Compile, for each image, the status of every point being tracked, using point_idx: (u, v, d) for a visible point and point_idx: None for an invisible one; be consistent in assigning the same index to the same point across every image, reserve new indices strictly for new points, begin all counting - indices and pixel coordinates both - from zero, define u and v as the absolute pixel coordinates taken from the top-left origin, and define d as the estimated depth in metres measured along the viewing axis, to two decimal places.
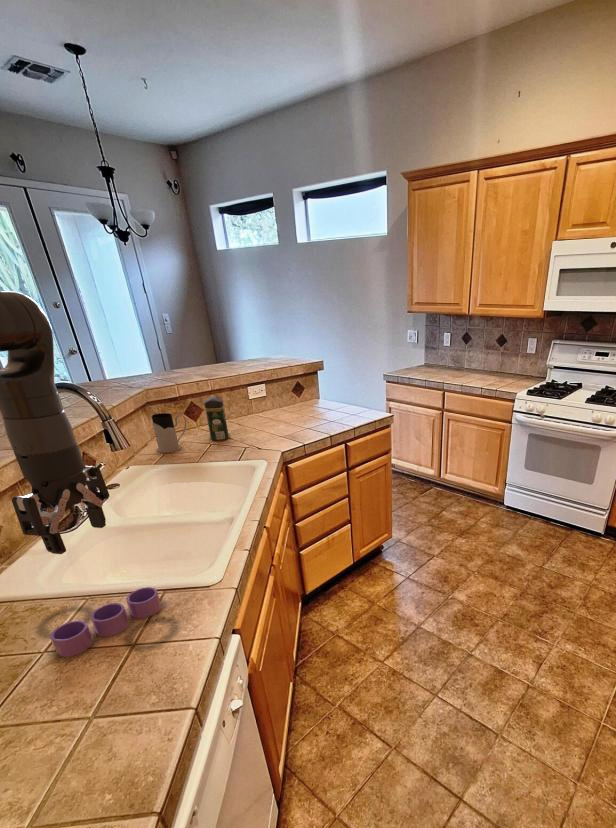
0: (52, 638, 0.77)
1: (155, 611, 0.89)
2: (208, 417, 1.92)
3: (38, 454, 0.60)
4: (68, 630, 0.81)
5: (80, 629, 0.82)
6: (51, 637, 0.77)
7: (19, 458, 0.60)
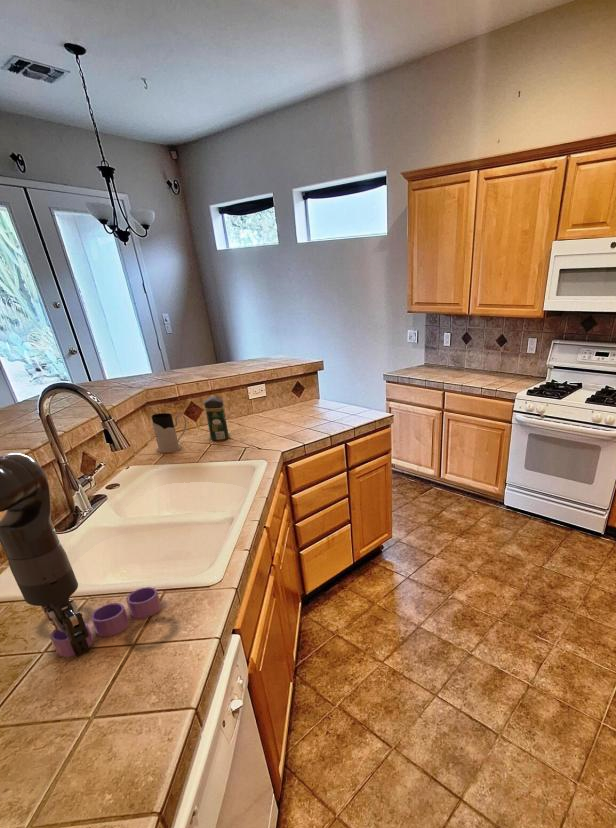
0: (52, 638, 0.77)
1: (155, 611, 0.89)
2: (208, 417, 1.92)
3: (64, 575, 0.73)
4: None
5: None
6: (51, 637, 0.77)
7: (46, 587, 0.71)
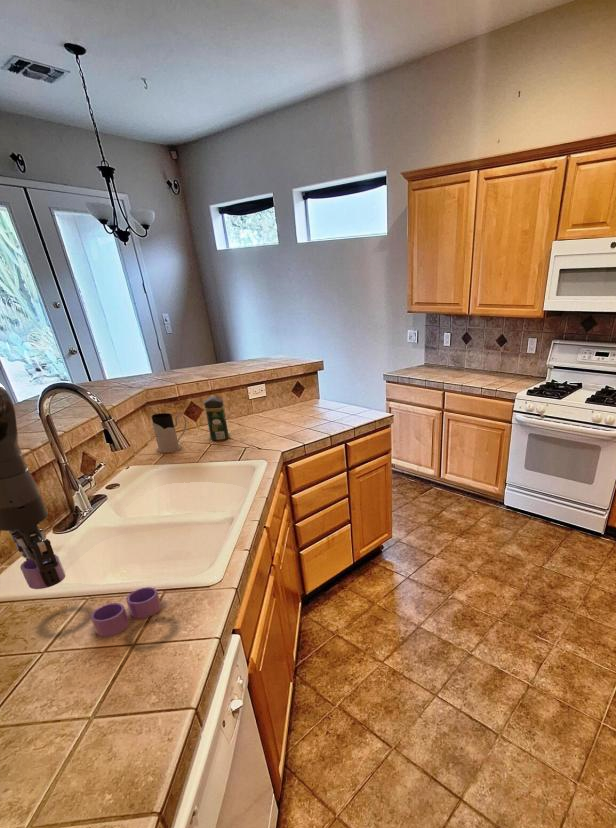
0: (22, 568, 0.78)
1: (155, 611, 0.89)
2: (208, 417, 1.92)
3: (32, 501, 0.73)
4: None
5: None
6: (21, 567, 0.78)
7: (13, 510, 0.71)
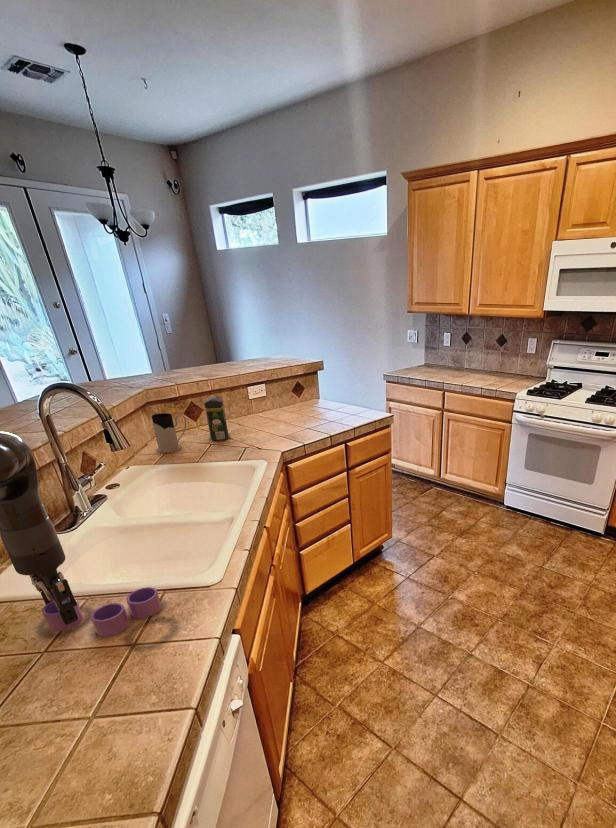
0: (43, 612, 0.83)
1: (155, 611, 0.89)
2: (208, 417, 1.92)
3: (52, 547, 0.78)
4: None
5: None
6: (42, 611, 0.83)
7: (35, 557, 0.76)
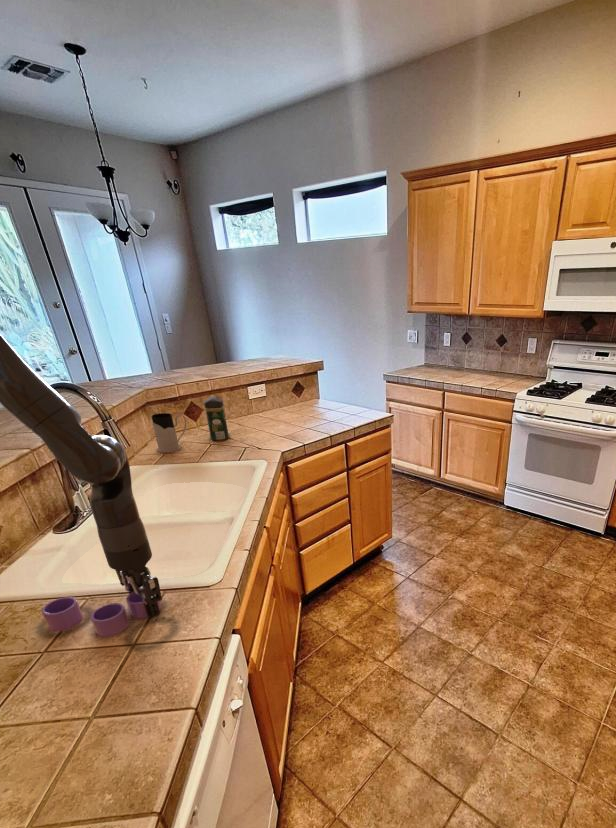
0: (43, 612, 0.83)
1: None
2: (208, 417, 1.92)
3: (143, 543, 0.82)
4: (59, 606, 0.87)
5: (70, 605, 0.87)
6: (42, 611, 0.83)
7: (129, 553, 0.80)
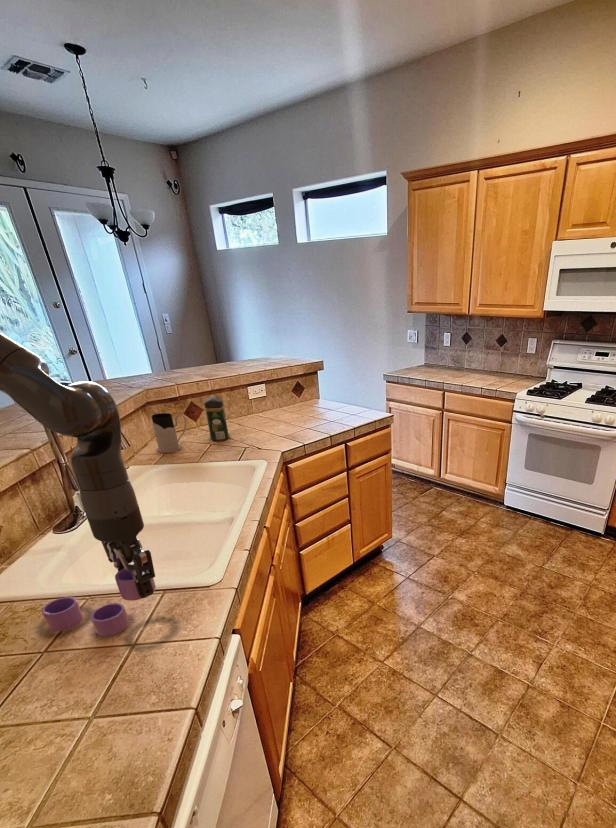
0: (43, 612, 0.83)
1: None
2: (208, 417, 1.92)
3: (133, 511, 0.72)
4: (59, 606, 0.87)
5: (70, 605, 0.87)
6: (42, 611, 0.83)
7: (117, 521, 0.69)
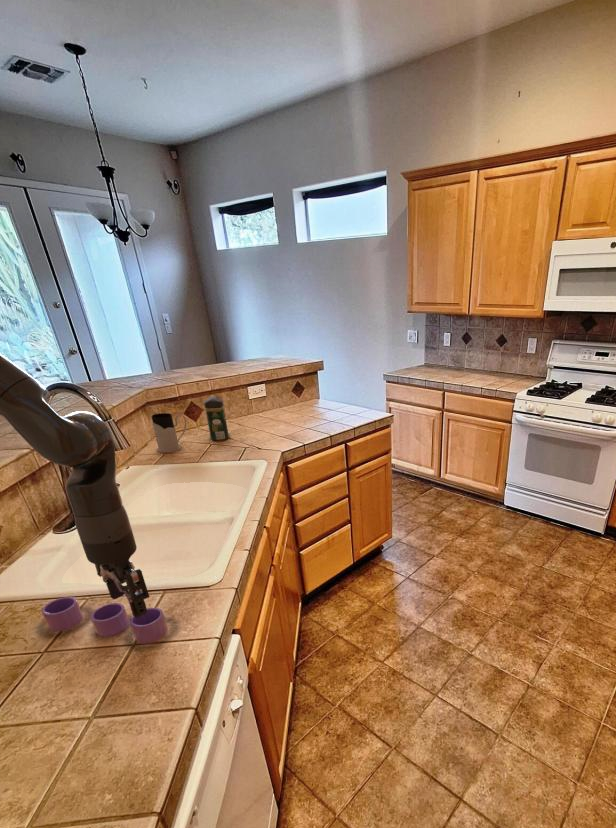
0: (43, 612, 0.83)
1: (160, 634, 0.83)
2: (208, 417, 1.92)
3: (126, 535, 0.74)
4: (59, 606, 0.87)
5: (70, 605, 0.87)
6: (42, 611, 0.83)
7: (110, 545, 0.72)
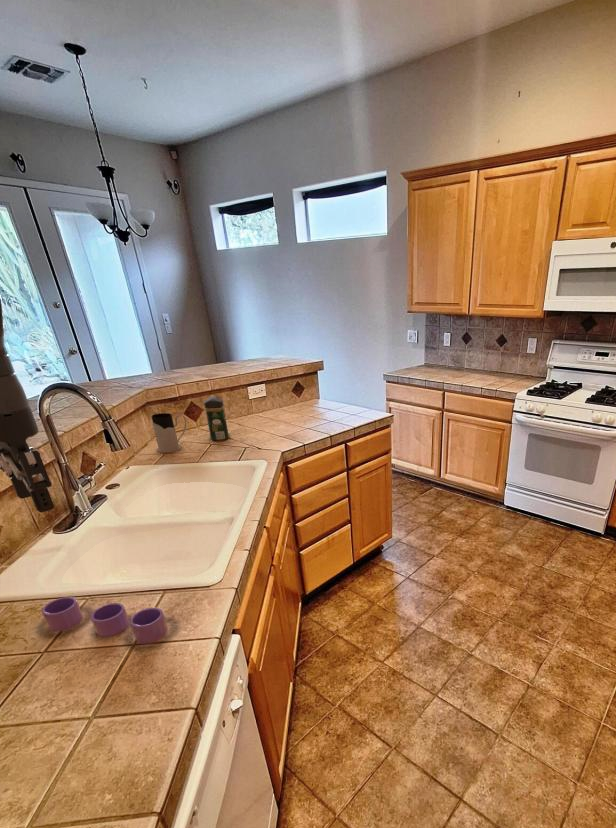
0: (43, 612, 0.83)
1: (160, 634, 0.83)
2: (208, 417, 1.92)
3: (21, 410, 0.64)
4: (59, 606, 0.87)
5: (70, 605, 0.87)
6: (42, 611, 0.83)
7: None
